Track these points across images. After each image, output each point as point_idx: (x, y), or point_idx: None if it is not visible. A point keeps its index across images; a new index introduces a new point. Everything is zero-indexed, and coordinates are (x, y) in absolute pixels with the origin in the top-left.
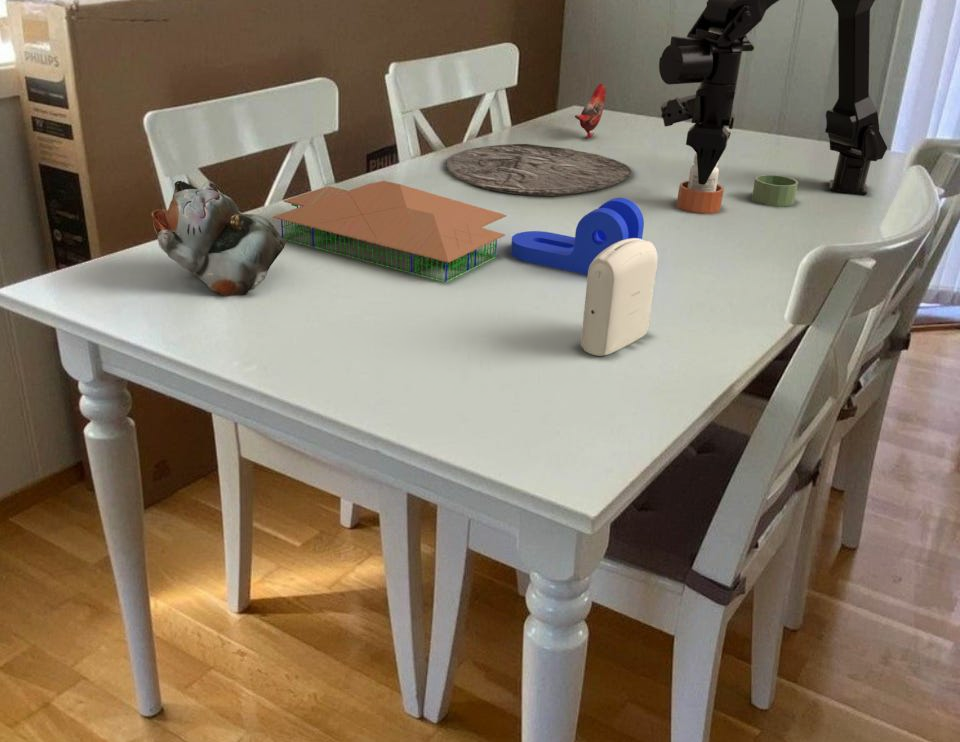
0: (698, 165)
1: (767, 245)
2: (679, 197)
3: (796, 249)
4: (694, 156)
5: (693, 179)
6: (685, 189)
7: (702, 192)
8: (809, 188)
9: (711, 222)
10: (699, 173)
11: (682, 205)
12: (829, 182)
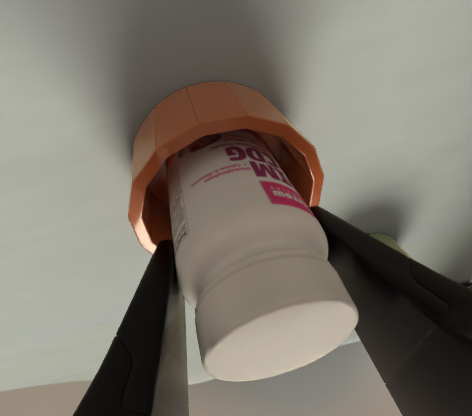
0: (117, 336)
1: (3, 359)
2: (167, 115)
3: (36, 380)
4: (267, 294)
5: (184, 218)
6: (141, 169)
7: (139, 240)
8: (441, 274)
9: (68, 241)
10: (141, 288)
11: (142, 129)
12: (468, 283)
